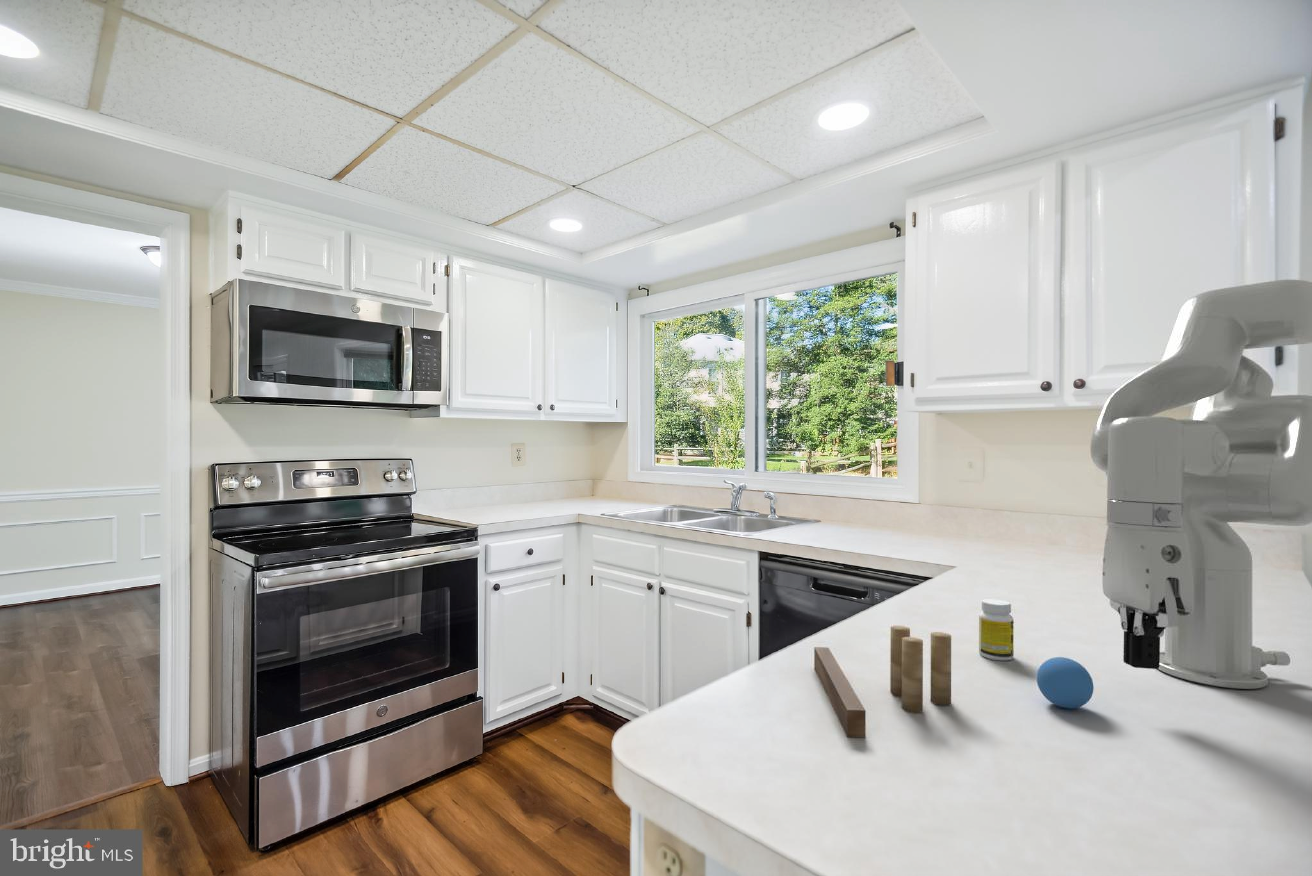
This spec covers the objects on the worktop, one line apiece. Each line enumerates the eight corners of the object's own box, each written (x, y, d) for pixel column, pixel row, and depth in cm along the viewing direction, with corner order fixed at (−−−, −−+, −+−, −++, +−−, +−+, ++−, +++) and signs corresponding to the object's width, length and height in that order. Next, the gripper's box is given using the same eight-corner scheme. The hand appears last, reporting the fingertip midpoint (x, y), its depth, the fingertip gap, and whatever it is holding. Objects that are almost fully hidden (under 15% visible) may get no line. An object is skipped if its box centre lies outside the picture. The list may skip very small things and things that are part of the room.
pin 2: (919, 705, 80) (919, 637, 80) (925, 713, 78) (925, 643, 78) (899, 704, 80) (899, 636, 80) (905, 712, 78) (905, 642, 78)
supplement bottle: (1018, 662, 96) (1018, 606, 96) (984, 660, 97) (984, 604, 97) (1007, 652, 101) (1007, 598, 101) (975, 650, 102) (975, 597, 102)
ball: (1075, 697, 83) (1075, 651, 83) (1104, 717, 77) (1104, 667, 77) (1027, 696, 83) (1027, 649, 83) (1052, 715, 77) (1052, 666, 77)
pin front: (946, 698, 82) (947, 632, 82) (954, 706, 80) (954, 637, 80) (927, 697, 82) (927, 631, 82) (934, 705, 80) (934, 637, 80)
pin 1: (906, 689, 85) (906, 625, 85) (912, 696, 83) (912, 631, 83) (888, 689, 85) (888, 625, 85) (893, 696, 83) (893, 630, 83)
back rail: (828, 668, 93) (828, 647, 93) (865, 737, 71) (865, 710, 71) (814, 667, 93) (814, 647, 93) (847, 736, 71) (847, 709, 71)
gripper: (1224, 524, 71) (1222, 690, 71) (1135, 513, 86) (1133, 650, 86) (1153, 520, 72) (1151, 685, 71) (1077, 510, 87) (1074, 646, 86)
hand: (1141, 665), depth 78 cm, fingers closed
